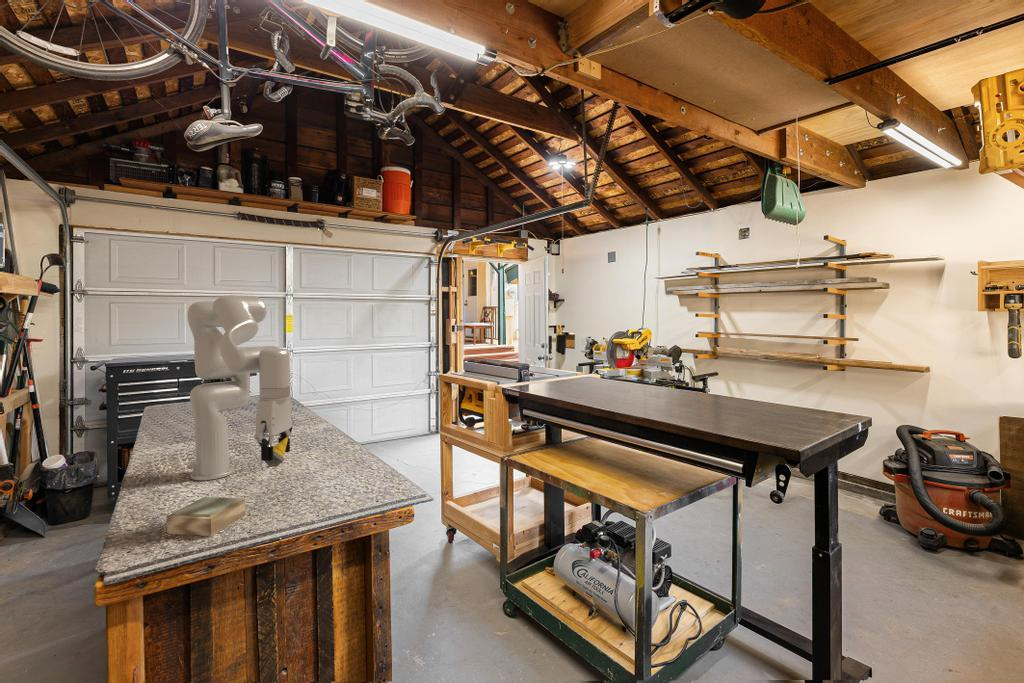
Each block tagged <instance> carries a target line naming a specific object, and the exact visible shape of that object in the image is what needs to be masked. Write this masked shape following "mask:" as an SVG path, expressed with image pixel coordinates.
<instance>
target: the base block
mask: <svg viewBox="0 0 1024 683" xmlns="http://www.w3.org/2000/svg"><path fill="white" fill-rule="evenodd" d="M244 516H246V499H244V498H237V497H235V498H234V497H217V496H204V497H202V498H200V499H198V500H196V501H194V502H192V503H190V504H188V505H186V506H184V507H182V508H180V509H178V510H175V511H174V512H172V513H171V514H169V515H167V516H166V528H167V529H166V532H167V534H173V535H190V536H202V537H203V536H204V537H212V536H214V535H216V534H217V533H219V532H220V531H222V530H223V529H225V528H226V527H227V528H228V526H230V525H232V524H233V523H235V522H237V521H238V520H240V519H242V518H243V517H244Z"/></svg>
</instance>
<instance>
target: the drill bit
mask: <svg viewBox="0 0 1024 683" xmlns="http://www.w3.org/2000/svg"><path fill="white" fill-rule="evenodd" d="M288 437H289V436H288ZM288 437H286V438H285V439H283V440H282V441H281V442H279V443H278V442H277V444H275V445H274V446H273V460H272V461H264V463H265V464H266V465H267V467H266V468H275V467H279V466H280V464H283V463H284V461H285V458H284V457H285V453H286V452H285V449H286V445H287V441H288Z"/></svg>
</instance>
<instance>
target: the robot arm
mask: <svg viewBox="0 0 1024 683" xmlns="http://www.w3.org/2000/svg"><path fill="white" fill-rule="evenodd" d="M266 315H267V307H266V304H265V302H264V300H263V299H261V298H260V297H258V296H254V295H253V296H252V295H235V294H234V295H232V294H231V295H229V294H227V295H222V296H219V297H218V298H216V299H215V300H214V301H213V300H209V301H208V300H205V301H204V300H203V301H196V302H194V303H192V304H190V305H189V307H188V309H187V323H188V326H189V328H190V331H191V333H192V337H193V342H194V349H193V350H194V370H195V371H194V372H195V375H196V377H197V378H198V379H201V380H217V379H218V380H219V379H221V380H222V379H228V378H229V379H230V378H231V380H229V381H219V382H209V383H208V382H207V383H202V384H199V385H196V386H194V387H193V388H192V389H191V390H190V392H189V401H190V405H191V409H192V413H193V414H192V416H193V426H194V447H195V448H194V449H195V460H192V461H190V462H189V463H188V464H187V466H186V469H190V470H191V469H193V472H191V474H190V479H192V480H194V481H211V480H216V479H217V480H218V479H222V478H224V477H228V476H230V475H232V474H233V473H235V470H236V469H235V467H234V466H233V465H230V449H229V448H230V447H229V423H228V420H227V419H226V417H225V416H223V415H222V414H221V413H220V411H222V410H223V411H224V410H228V409H233V408H235V409H236V408H242V407H244V406H246V405H248V404H249V401H250V398H251V376H250V375H251V374H259V375H258V376H259V380H258V382H259V399H258V401H257V406H256V413H255V434H254V439H255V440H256V442H257V443H258V444H259V447H260V459H261V461H264V462H265V461H272V460H273V447H274V445H272V444H273V440H274V438H275V436H278V435H279V437H278V439H277V441H278V442H277V444H278V443H279V442H281V441H282V440H283V439H285V438H286V437H288V436H289V437H288V441H287V445H286V449H285V453H290V452H291V439H290V438H291V436H292V431H293V427H294V425H295V420H294V419H293V409H292V408H293V407H292V401H291V366H290V361H291V359H290V357H291V356H290V352H289V350H288V349H285V348H279V347H278V346H275V345H263V346H261V345H259V346H241V347H240V345H242V344H244V343H246V342H249V341H250V340H252V339H253V338H254V337H255V336H256V335H257V333H258V332H259V325H258V324H259V323H261V322H262V321H264V320H265V318H266ZM218 328H223V330H224V333H222V332H221V330H219V329H218ZM266 438H268V439H266Z"/></svg>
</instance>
